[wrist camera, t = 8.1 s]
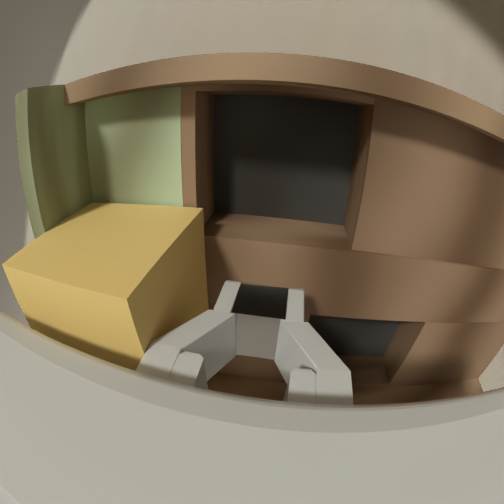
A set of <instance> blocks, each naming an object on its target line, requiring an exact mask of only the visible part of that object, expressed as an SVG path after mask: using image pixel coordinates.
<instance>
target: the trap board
mask: <svg viewBox="0 0 504 504" xmlns="http://www.w3.org/2000/svg"><path fill="white" fill-rule="evenodd" d="M15 98H16V99H15V102H16V103H15V109H16V134H17V145H18V156H19V163H20V171H21V178H22V183H23V189H24V195H25V199H26V204H27V209H28V213H29V218H30V222H31V226H32V229H33V233H34V237H35V239H36V238H38V237H39V236H40V235H42V234H43V233H45V232H46V231H48V230H49V229H51V228H52V227H54V226H55V225H57V224H58V223H60V222H61V221H63V220H64V219H66V218H67V217H69V216H70V215H72V214H74V213H75V212H77V211H78V210H80V209H82V208H83V207H85V206H87V205H88V204H90V203H121V204H144V205H163V206H179V207H194V208H203V214H204V240H205V260H206V277H207V292H208V306H209V310H213V309H214V307H215V304H216V302H217V299H218V297H219V295H220V292H221V290H222V287H223V285H224V283H225V281H227V280H231V281H239V282H246V283H253V284H260V285H267V286H273V287H282V288H288V289H289V288H299V289H304V322H308V323H309V324H310V325H311V326H312V327H313V328H314V329H315V330H316V332H317V333H318V334H319V335H320V336H321V337H322V339H323V340H324V341H325V342H326V343H327V344H328V346H329V347H330V348H331V349H332V350H333V351H334V352H335V354H336V355H337V356H338V357H339V358H340V359H341V361H342V362H343V363H344V364H345V365H346V366H347V367H348V369H349V370H350V371H351V381H352V392H353V405H384V404H402V403H414V402H425V401H433V400H441V399H448V398H455V397H461V396H466V395H472V394H477V393H481V392H483V390H482V387H481V385H480V382H479V380H478V377H479V376H480V375H481V374H482V372H483V371H484V370H485V369H486V367H487V366H488V365H489V363H490V362H491V361H492V359H493V358H494V357H495V355H496V354H497V353H498V351H499V350H500V348H501V347H502V345H503V344H504V115H502V114H500V113H498V112H496V111H495V110H493V109H491V108H489V107H487V106H485V105H483V104H481V103H479V102H477V101H474V100H472V99H470V98H468V97H466V96H463V95H461V94H459V93H456V92H454V91H452V90H449V89H446V88H444V87H441V86H439V85H436V84H433V83H430V82H427V81H424V80H421V79H418V78H415V77H412V76H409V75H405V74H402V73H399V72H395V71H391V70H387V69H383V68H379V67H375V66H370V65H366V64H361V63H356V62H351V61H345V60H339V59H332V58H325V57H317V56H308V55H298V54H284V53H217V54H203V55H192V56H183V57H176V58H168V59H162V60H156V61H150V62H145V63H140V64H135V65H130V66H126V67H122V68H118V69H114V70H110V71H106V72H102V73H99V74H95V75H92V76H89V77H86V78H83V79H79V80H77V81H74V82H71V83H68V84H65V85H53V86H43V87H33V88H27V89H25V90H23V91H21V92H19V93H18V94H16V97H15ZM207 385H208V390H212V391H217V392H222V393H228V394H233V395H239V396H246V397H252V398H259V399H267V400H275V401H283V399H284V396H285V392H286V388H287V384H286V382H285V380H284V378H283V376H282V374H281V373H280V371H279V369H278V367H277V365H276V363H275V361H274V360H272V359H266V358H259V357H252V356H244V355H236V356H235V357H234V358H233V359H232V360H230V361H229V362H228V363H227V364H226V365H225V366H224V367H223V368H221V369H220V370H219V371H218V372H217V373H216V374H215V375H214V376H212V377H211V378H210V379H209V380H208V381H207Z"/></svg>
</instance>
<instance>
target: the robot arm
mask: <svg viewBox="0 0 504 504" xmlns="http://www.w3.org/2000/svg"><path fill="white" fill-rule="evenodd" d="M236 355H244V356H252V357H259V358H266V359H272V360H274V361H275V363H276V365H277V367H278V369H279V371H280V373H281V374H282V376H283V378H284V380H285V382H286V384H287V388H286V392H285V396H284V399H283V401H275V400H267V399H259V398H252V397H246V396H239V395H233V394H228V393H222V392H217V391H212V390H208V385H207V381H208V380H209V379H210V378H211V377H212V376H214V375H215V374H216V373H217V372H218V371H219V370H220V369H221V368H223V367H224V366H225V365H226V364H227V363H228V362H229V361H230V360H232V359H233V358H234V357H235V356H236ZM0 504H504V387H503V388H499V389H495V390H490V391H486V392H481V393H477V394H472V395H466V396H461V397H455V398H448V399H441V400H433V401H425V402H414V403H402V404H384V405H353V392H352V381H351V371H350V370H349V369H348V367H347V366H346V365H345V364H344V363H343V362H342V361H341V359H340V358H339V357H338V356H337V355H336V354H335V352H334V351H333V350H332V349H331V348H330V347H329V346H328V344H327V343H326V342H325V341H324V340H323V339H322V337H321V336H320V335H319V334H318V333H317V332H316V330H315V329H314V328H313V327H312V326H311V325H310V324H309V323H308V322H304V289H299V288H289V289H288V288H282V287H273V286H267V285H260V284H253V283H246V282H239V281H231V280H227V281H225V283H224V285H223V287H222V290H221V292H220V295H219V297H218V299H217V302H216V304H215V307H214V309H213V310H207V311H205V312H204V313H202V314H200V315H198V316H197V317H195V318H193V319H191V320H190V321H188V322H186V323H184V324H183V325H181V326H179V327H177V328H175V329H174V330H172V331H170V332H168V333H167V334H165V335H163V336H161V337H159V338H158V339H156V340H154V341H152V342H151V344H150V345H149V347H148V349H147V351H146V352H145V354H144V356H143V358H142V359H141V361H140V363H139V365H138V367H137V368H136V370H135V371H134V370H131V369H128V368H125V367H122V366H119V365H116V364H113V363H111V362H108V361H105V360H102V359H100V358H97V357H94V356H92V355H89V354H87V353H84V352H82V351H79V350H77V349H75V348H72V347H70V346H68V345H65V344H63V343H61V342H59V341H56V340H54V339H52V338H50V337H48V336H46V335H44V334H42V333H40V332H38V331H36V330H34V329H32V328H30V327H28V326H26V325H24V324H22V323H20V322H18V321H17V320H15V319H13V318H11V317H10V316H8V315H6V314H5V313H3V312H1V311H0Z"/></svg>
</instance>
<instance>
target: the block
mask: <svg viewBox="0 0 504 504" xmlns="http://www.w3.org/2000/svg"><path fill="white" fill-rule="evenodd" d="M2 265H3V268H4V270H5V273H6V275H7V278H8V280H9V283H10V285H11V287H12V290H13V292H14V294H15V296H16V299H17V301H18V303H19V305H20V307H21V309H22V311H23V313H24V315H25V317H26V319H27V321H28V323H29V325H30V326H31V328H32V329H34V330H36V331H38V332H40V333H42V334H44V335H46V336H48V337H50V338H52V339H54V340H56V341H59V342H61V343H63V344H65V345H68V346H70V347H72V348H75V349H77V350H79V351H82V352H84V353H87V354H89V355H92V356H94V357H97V358H100V359H102V360H105V361H108V362H111V363H113V364H116V365H119V366H122V367H125V368H128V369H131V370H134V371H135V370H136V368H137V367H138V365H139V363H140V361H141V359H142V358H143V356H144V354H145V352H146V351H147V349H148V347H149V345H150V344H151V342H152V341H154V340H156V339H158V338H159V337H161V336H163V335H165V334H167V333H168V332H170V331H172V330H174V329H175V328H177V327H179V326H181V325H183V324H184V323H186V322H188V321H190V320H191V319H193V318H195V317H197V316H198V315H200V314H202V313H204V312H205V311H207V310H209V306H208V292H207V277H206V260H205V240H204V214H203V208H194V207H179V206H163V205H144V204H121V203H90V204H88V205H87V206H85V207H83V208H82V209H80V210H78V211H77V212H75V213H74V214H72V215H70V216H69V217H67V218H66V219H64V220H63V221H61V222H60V223H58V224H57V225H55V226H54V227H52V228H51V229H49V230H48V231H46V232H45V233H43V234H42V235H40V236H39V237H38V238H36V239H35V240H33V241H32V242H31V243H29V244H28V245H27V246H25V247H24V248H23V249H21V250H20V251H19V252H17V253H16V254H15V255H14V256H12V257H11V258H10V259H9V260H7V261H6V262H5V263H3V264H2Z"/></svg>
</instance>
